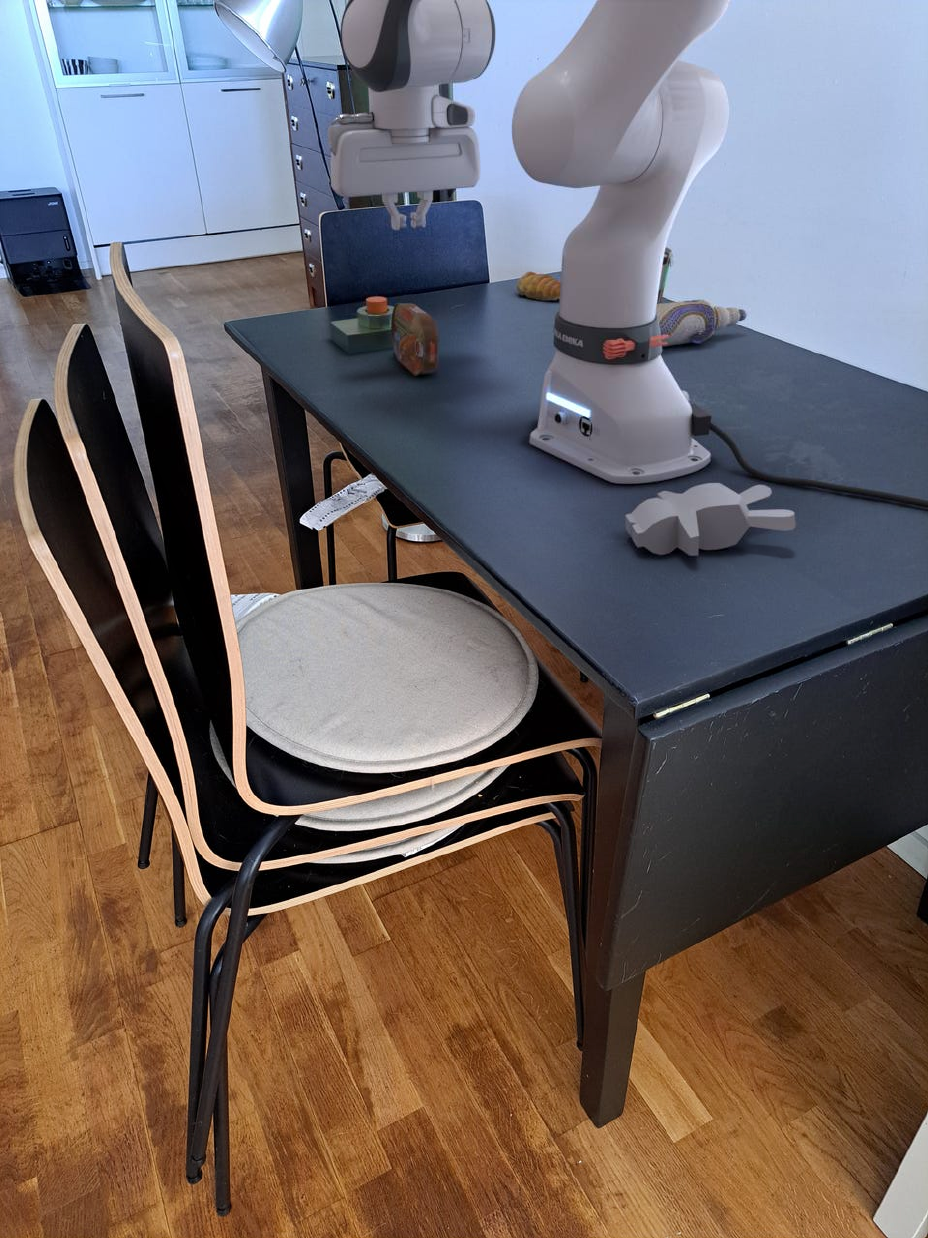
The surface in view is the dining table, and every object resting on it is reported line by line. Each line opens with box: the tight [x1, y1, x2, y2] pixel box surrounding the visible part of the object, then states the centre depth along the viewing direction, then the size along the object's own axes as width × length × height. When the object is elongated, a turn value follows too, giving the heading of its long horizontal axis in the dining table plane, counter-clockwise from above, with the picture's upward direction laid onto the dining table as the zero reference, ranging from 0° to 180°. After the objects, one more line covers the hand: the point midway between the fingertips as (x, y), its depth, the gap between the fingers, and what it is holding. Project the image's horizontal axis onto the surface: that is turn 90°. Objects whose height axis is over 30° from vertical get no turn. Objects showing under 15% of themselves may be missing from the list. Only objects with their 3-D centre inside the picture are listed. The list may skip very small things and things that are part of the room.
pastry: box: [516, 271, 561, 302], centre depth 163 cm, size 9×7×4 cm
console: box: [330, 304, 394, 355], centre depth 140 cm, size 8×13×5 cm, turn 116°
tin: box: [391, 302, 440, 377], centre depth 129 cm, size 15×3×8 cm, turn 21°
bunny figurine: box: [624, 482, 796, 557], centre depth 86 cm, size 10×5×15 cm
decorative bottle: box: [656, 299, 747, 348], centre depth 138 cm, size 26×8×7 cm, turn 113°
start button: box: [365, 296, 388, 313], centre depth 138 cm, size 3×3×2 cm
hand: (408, 228), depth 120 cm, fingers closed
